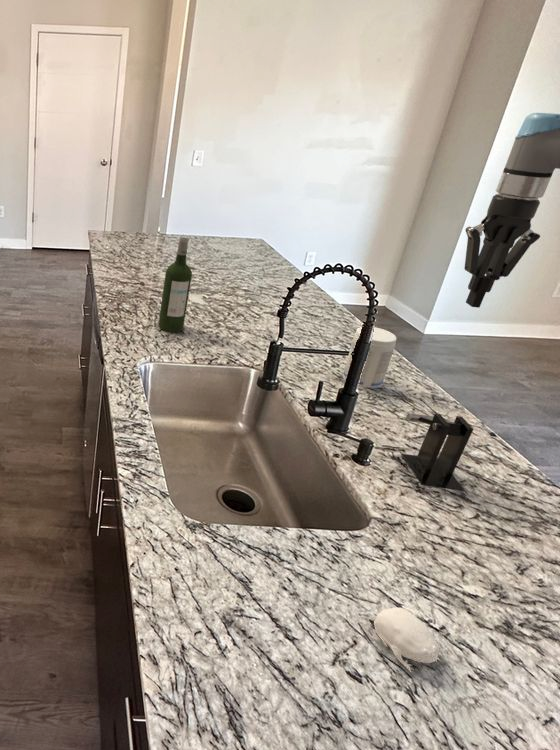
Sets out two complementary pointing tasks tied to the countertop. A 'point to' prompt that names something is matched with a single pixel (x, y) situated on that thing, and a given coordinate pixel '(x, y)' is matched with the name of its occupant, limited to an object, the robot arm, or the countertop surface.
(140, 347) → the countertop surface
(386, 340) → the supplement tub
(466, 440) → the bracket
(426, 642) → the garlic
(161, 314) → the wine bottle
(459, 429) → the tap lever
